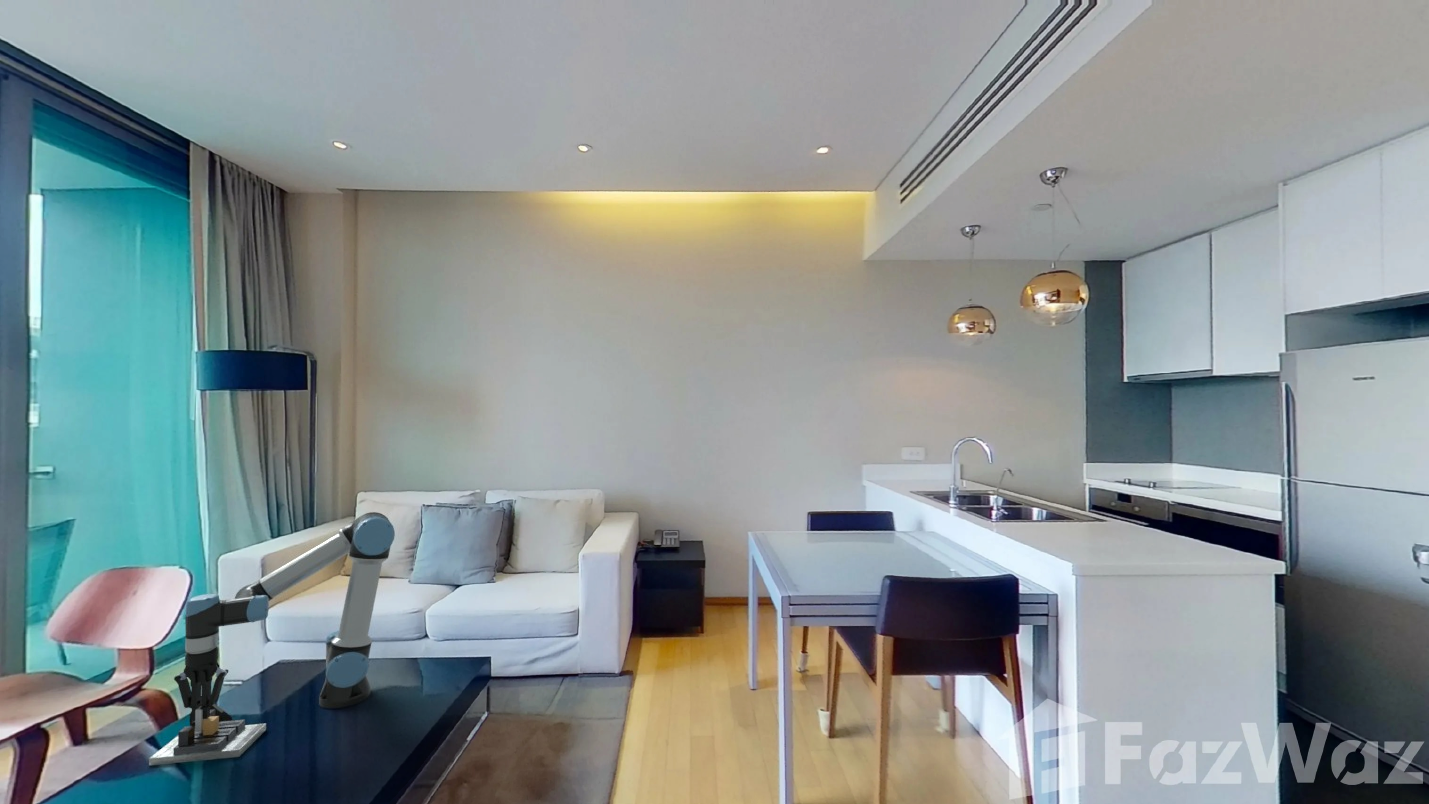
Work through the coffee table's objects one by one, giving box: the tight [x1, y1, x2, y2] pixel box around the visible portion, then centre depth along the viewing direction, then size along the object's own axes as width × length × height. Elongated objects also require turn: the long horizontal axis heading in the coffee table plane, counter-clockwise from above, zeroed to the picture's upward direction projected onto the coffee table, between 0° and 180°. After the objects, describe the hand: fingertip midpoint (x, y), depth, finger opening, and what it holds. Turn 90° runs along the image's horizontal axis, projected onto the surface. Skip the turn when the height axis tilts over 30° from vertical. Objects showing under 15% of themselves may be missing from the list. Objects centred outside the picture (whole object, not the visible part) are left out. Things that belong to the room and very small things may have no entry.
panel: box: [148, 709, 267, 766], centre depth 179 cm, size 22×15×8 cm
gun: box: [188, 695, 234, 726], centre depth 190 cm, size 3×16×10 cm, turn 79°
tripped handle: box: [203, 716, 219, 735], centre depth 179 cm, size 2×3×4 cm
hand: (200, 729), depth 179 cm, fingers closed
